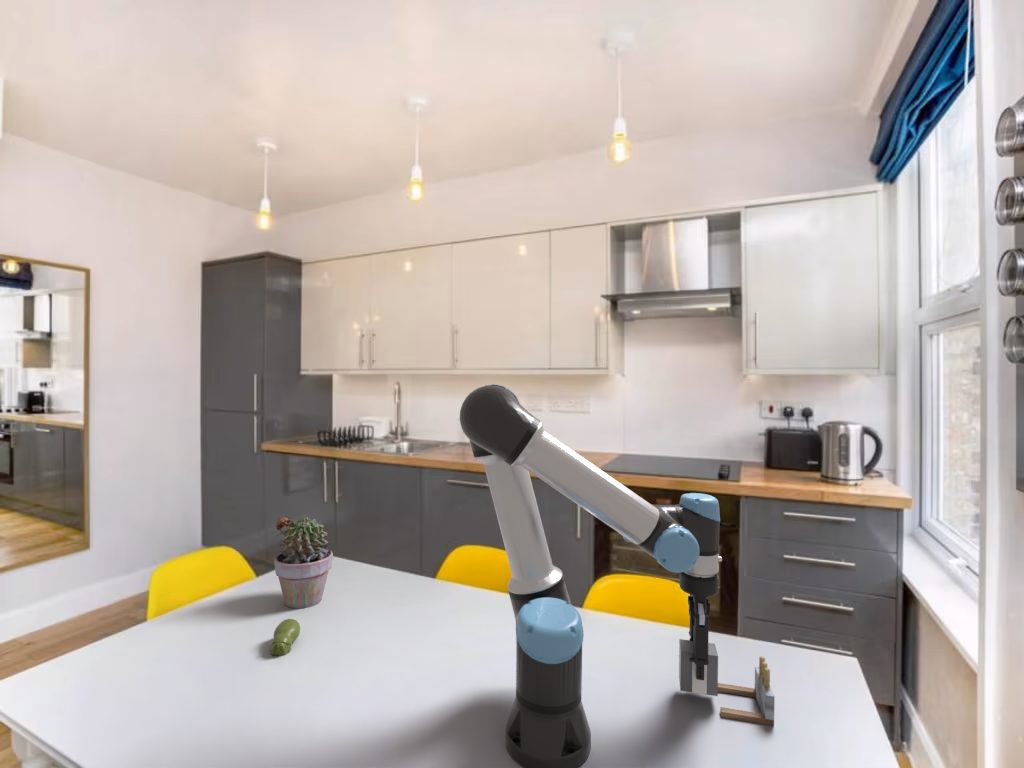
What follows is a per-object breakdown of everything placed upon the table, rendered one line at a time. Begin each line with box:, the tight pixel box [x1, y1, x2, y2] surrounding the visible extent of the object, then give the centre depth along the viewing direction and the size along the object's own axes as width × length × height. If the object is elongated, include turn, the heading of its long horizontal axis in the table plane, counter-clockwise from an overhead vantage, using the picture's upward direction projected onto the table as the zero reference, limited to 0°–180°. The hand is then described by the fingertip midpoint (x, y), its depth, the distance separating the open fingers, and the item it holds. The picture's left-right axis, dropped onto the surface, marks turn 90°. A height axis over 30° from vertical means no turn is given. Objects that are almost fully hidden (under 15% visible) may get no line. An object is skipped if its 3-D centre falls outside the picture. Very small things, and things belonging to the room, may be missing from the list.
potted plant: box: [273, 516, 337, 610], centre depth 149 cm, size 18×20×25 cm
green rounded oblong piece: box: [270, 618, 301, 656], centre depth 123 cm, size 6×5×10 cm
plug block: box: [678, 638, 719, 697], centre depth 105 cm, size 5×7×8 cm
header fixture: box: [718, 655, 775, 726], centre depth 103 cm, size 10×9×9 cm
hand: (697, 684), depth 105 cm, fingers closed on plug block, 5 cm apart
